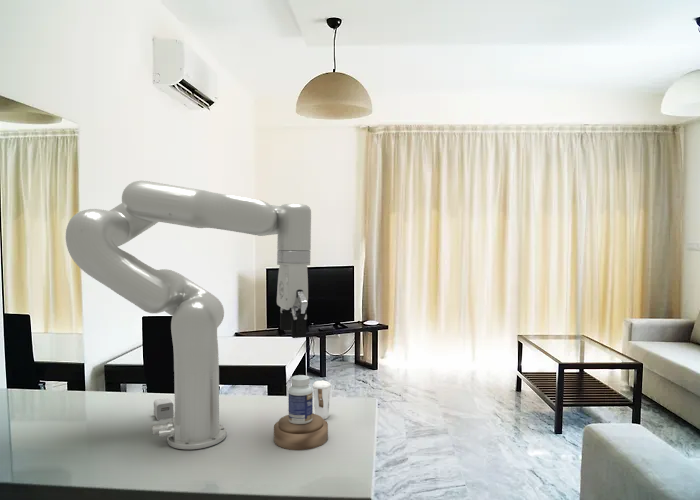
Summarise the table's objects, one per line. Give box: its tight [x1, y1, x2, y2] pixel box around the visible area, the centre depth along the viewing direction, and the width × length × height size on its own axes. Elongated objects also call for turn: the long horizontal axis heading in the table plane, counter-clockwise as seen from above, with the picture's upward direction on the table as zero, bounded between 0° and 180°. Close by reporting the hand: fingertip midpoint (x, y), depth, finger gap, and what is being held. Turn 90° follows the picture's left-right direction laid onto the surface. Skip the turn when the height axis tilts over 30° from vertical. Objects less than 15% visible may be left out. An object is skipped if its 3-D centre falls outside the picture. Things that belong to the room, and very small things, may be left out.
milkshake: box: [312, 377, 335, 420], centre depth 121 cm, size 4×5×10 cm
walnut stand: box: [273, 413, 329, 451], centre depth 108 cm, size 12×12×4 cm
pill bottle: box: [287, 374, 314, 424], centre depth 108 cm, size 5×5×10 cm
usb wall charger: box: [153, 397, 175, 421], centre depth 123 cm, size 4×7×4 cm, turn 31°
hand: (292, 333), depth 110 cm, fingers open, 9 cm apart
